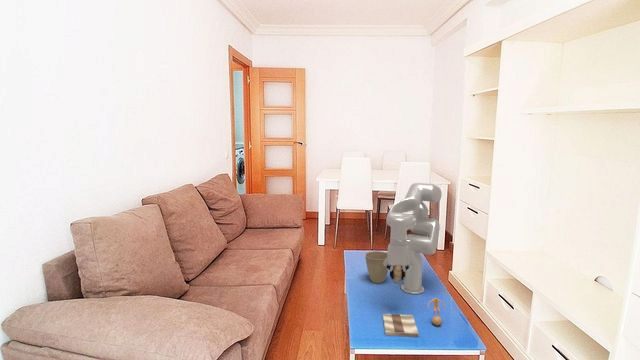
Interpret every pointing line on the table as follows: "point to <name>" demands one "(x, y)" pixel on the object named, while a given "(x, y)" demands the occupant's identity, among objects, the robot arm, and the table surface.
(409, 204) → the robot arm
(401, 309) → the table surface
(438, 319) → the figurine
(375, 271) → the plant pot
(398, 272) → the brown cylinder
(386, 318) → the floor board
